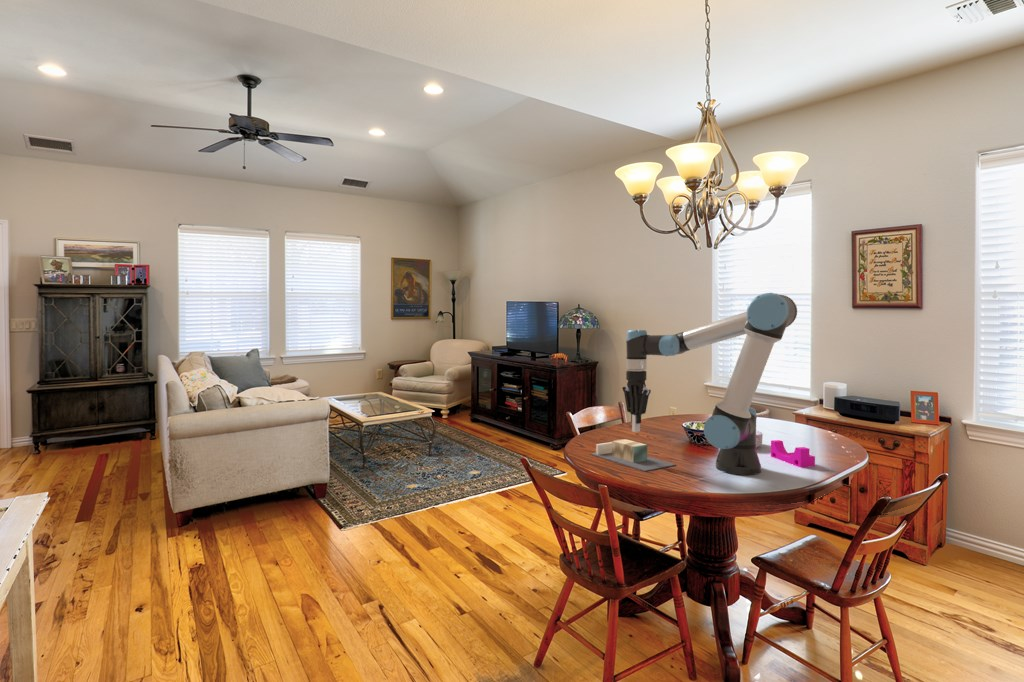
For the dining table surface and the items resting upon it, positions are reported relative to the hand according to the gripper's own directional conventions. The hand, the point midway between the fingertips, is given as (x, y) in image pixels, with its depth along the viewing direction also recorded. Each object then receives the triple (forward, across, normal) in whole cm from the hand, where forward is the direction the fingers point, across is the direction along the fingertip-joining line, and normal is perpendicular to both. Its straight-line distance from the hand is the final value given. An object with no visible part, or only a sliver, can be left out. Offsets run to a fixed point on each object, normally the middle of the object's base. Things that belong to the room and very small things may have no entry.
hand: (636, 431), depth 203 cm
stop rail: (+11, +14, 0) cm, 18 cm away
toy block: (+12, -33, -48) cm, 59 cm away
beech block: (+8, -2, 0) cm, 8 cm away
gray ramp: (+11, +2, 0) cm, 12 cm away
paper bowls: (+12, -10, -52) cm, 54 cm away
